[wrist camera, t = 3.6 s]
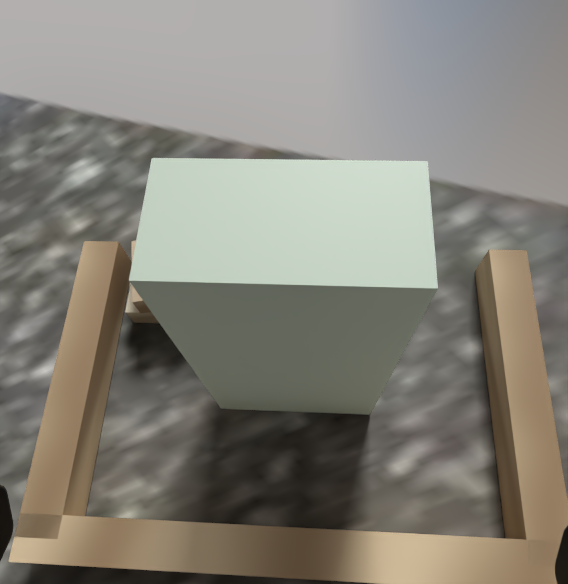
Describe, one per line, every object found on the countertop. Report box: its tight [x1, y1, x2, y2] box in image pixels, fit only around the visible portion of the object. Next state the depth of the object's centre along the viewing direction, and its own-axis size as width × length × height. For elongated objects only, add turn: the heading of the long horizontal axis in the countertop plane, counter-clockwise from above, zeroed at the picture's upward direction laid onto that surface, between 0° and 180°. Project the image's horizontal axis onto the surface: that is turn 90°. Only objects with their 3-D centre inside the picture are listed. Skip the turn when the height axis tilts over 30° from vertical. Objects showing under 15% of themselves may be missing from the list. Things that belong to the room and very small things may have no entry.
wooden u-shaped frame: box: [9, 241, 568, 584], centre depth 20 cm, size 18×12×2 cm, turn 87°
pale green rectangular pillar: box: [129, 158, 438, 415], centre depth 16 cm, size 6×3×12 cm, turn 87°
